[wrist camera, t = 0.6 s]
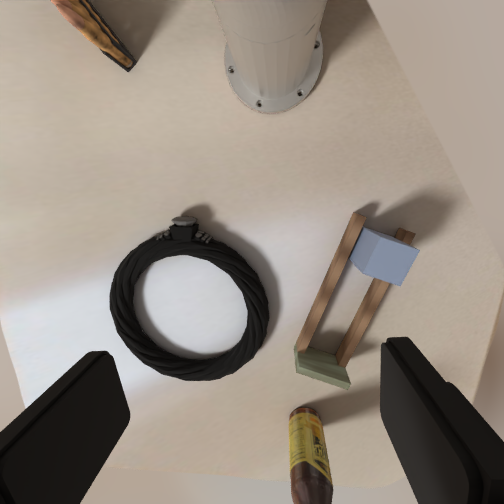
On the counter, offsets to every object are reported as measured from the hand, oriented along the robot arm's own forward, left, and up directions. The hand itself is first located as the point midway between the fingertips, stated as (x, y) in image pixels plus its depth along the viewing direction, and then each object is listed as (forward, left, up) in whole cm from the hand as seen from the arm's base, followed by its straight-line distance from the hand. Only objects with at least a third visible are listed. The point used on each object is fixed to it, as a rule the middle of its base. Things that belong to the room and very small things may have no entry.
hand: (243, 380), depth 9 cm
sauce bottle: (+33, +18, -32) cm, 50 cm away
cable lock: (+17, -9, -33) cm, 38 cm away
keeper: (-2, +15, -32) cm, 36 cm away
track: (+6, +15, -32) cm, 36 cm away
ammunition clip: (-18, -30, -32) cm, 47 cm away
